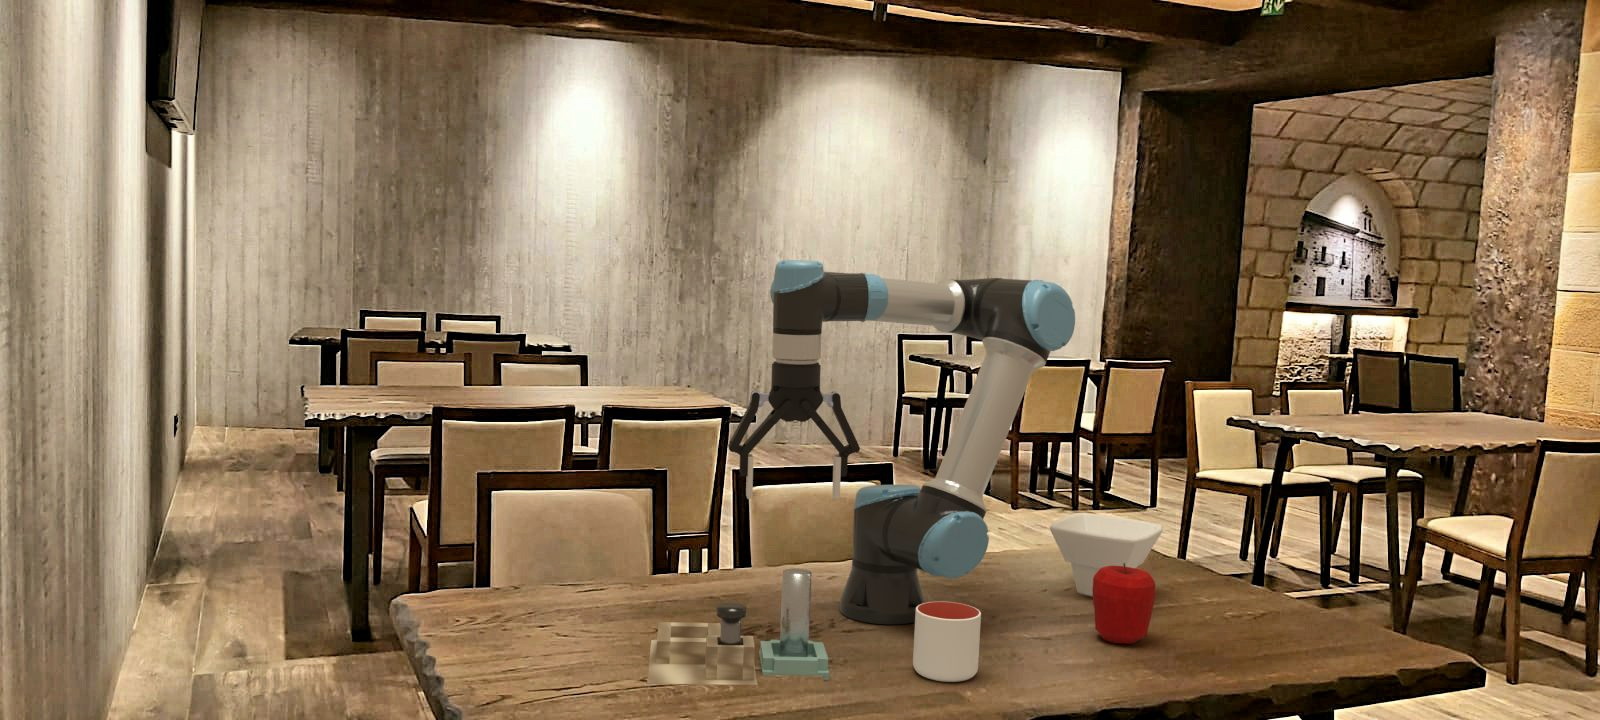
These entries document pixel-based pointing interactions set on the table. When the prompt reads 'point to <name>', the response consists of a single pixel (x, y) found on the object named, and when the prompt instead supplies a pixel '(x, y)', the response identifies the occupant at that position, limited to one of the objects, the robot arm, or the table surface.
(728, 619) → the black mushroom head peg
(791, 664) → the tray
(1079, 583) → the bowl
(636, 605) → the table surface
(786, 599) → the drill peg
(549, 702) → the table surface
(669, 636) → the socket block
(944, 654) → the cup
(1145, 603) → the apple
